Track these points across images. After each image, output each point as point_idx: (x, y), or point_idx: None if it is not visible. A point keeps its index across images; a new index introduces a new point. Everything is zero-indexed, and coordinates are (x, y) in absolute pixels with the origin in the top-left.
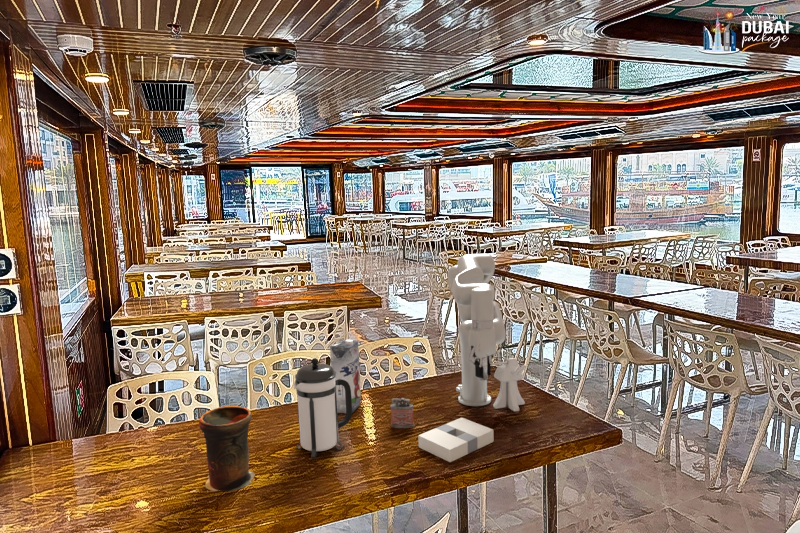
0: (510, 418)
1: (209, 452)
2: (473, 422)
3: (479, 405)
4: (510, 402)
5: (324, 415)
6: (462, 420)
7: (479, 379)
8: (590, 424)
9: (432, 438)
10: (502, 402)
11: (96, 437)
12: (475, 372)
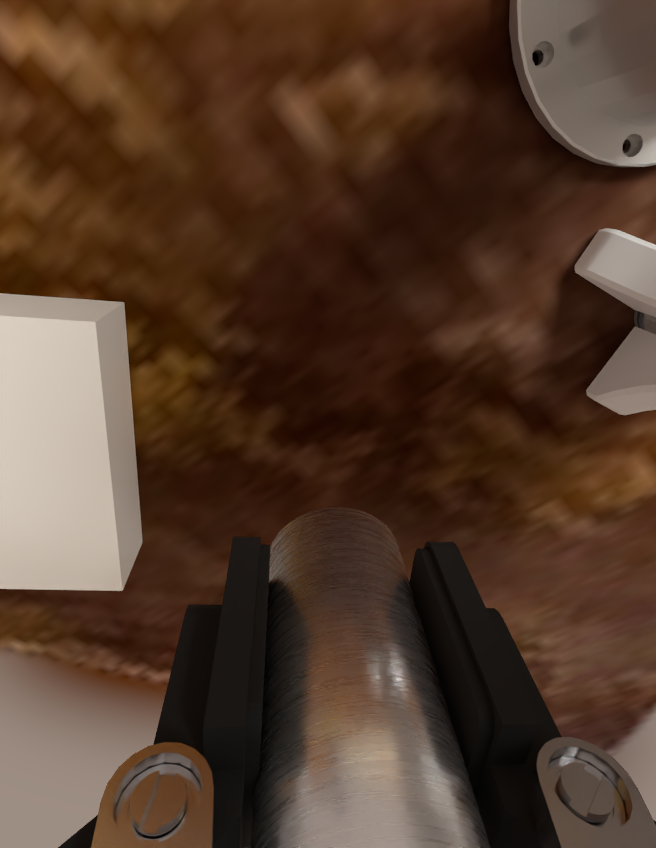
0: (471, 437)
1: None
2: (102, 445)
3: (552, 136)
4: (644, 369)
5: None
6: (57, 366)
7: (271, 546)
8: (603, 707)
9: None
10: (637, 305)
11: None
12: (227, 579)
